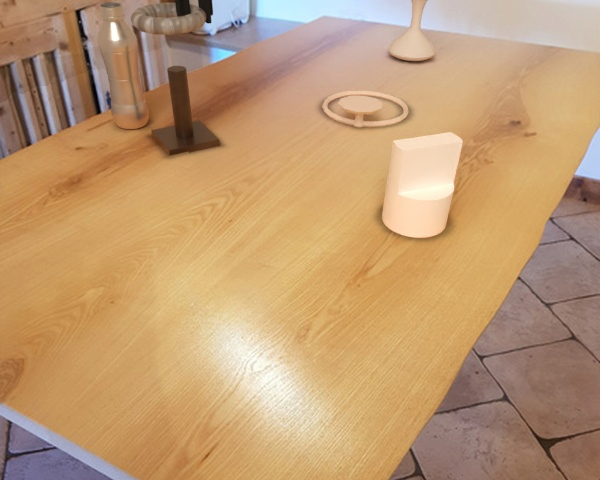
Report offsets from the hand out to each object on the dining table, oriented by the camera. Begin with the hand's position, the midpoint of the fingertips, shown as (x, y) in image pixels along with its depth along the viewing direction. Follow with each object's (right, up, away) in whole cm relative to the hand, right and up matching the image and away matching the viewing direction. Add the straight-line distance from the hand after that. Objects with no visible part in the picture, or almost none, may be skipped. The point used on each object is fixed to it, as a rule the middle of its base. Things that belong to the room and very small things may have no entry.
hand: (195, 21), depth 84 cm
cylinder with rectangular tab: (+32, -32, -6) cm, 45 cm away
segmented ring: (-4, -1, -2) cm, 4 cm away
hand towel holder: (+28, -7, +23) cm, 37 cm away
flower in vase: (+44, +16, +50) cm, 68 cm away
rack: (-4, -15, +12) cm, 20 cm away
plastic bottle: (-15, -11, +17) cm, 25 cm away
